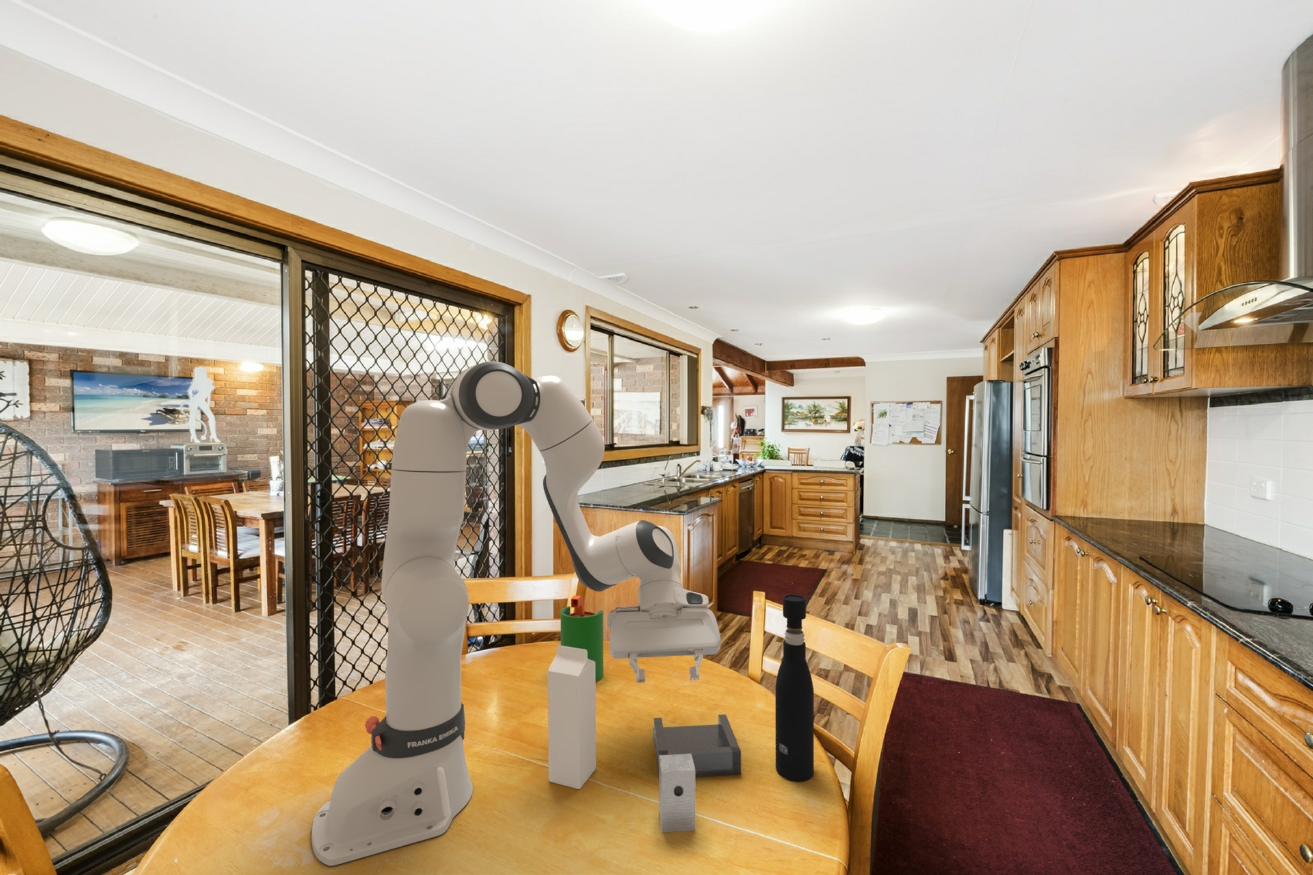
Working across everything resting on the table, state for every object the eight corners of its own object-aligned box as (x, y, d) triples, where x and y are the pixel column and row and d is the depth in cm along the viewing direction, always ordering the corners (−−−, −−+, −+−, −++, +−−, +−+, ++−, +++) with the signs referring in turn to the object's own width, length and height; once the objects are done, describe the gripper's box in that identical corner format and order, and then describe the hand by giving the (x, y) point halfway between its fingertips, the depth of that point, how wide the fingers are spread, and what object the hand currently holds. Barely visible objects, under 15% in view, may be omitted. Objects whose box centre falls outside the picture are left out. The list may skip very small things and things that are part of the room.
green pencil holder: (606, 669, 133) (605, 588, 132) (598, 686, 124) (598, 600, 124) (565, 667, 134) (565, 587, 133) (555, 684, 125) (554, 599, 125)
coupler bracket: (652, 732, 105) (652, 712, 105) (723, 729, 106) (723, 709, 106) (659, 779, 91) (659, 756, 91) (740, 774, 92) (740, 751, 92)
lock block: (659, 813, 83) (659, 755, 83) (691, 811, 83) (691, 753, 83) (661, 833, 79) (661, 772, 79) (695, 831, 79) (695, 770, 79)
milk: (566, 761, 96) (565, 638, 96) (596, 769, 94) (596, 643, 94) (547, 782, 90) (546, 651, 90) (579, 790, 88) (578, 656, 88)
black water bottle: (813, 761, 96) (813, 593, 95) (813, 785, 89) (814, 605, 89) (776, 756, 97) (776, 590, 97) (774, 778, 91) (774, 602, 91)
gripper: (607, 599, 100) (607, 676, 90) (716, 595, 102) (727, 670, 92) (607, 615, 104) (607, 689, 95) (711, 611, 106) (722, 684, 97)
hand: (667, 680), depth 93 cm, fingers open, 8 cm apart
